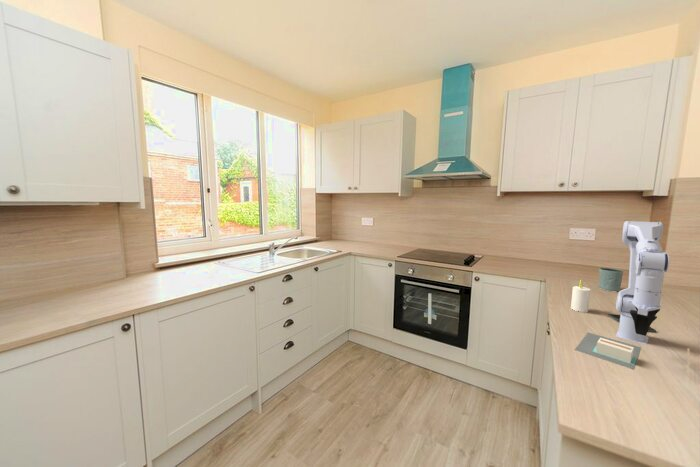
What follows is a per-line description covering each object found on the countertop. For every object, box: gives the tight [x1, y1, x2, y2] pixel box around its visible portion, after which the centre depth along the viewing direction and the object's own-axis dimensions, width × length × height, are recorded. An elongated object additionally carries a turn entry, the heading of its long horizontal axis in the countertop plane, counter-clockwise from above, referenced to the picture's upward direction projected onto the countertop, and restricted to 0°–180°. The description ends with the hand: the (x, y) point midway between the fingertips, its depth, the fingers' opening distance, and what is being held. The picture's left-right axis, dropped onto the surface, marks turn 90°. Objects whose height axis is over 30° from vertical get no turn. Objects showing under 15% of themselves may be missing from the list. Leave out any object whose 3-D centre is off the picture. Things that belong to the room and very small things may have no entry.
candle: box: [570, 278, 591, 313], centre depth 127 cm, size 6×6×15 cm
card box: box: [596, 338, 634, 363], centre depth 89 cm, size 8×5×4 cm, turn 38°
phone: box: [607, 313, 657, 333], centre depth 114 cm, size 8×1×15 cm
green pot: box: [598, 267, 624, 292], centre depth 158 cm, size 10×10×12 cm
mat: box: [574, 332, 642, 370], centre depth 93 cm, size 20×14×1 cm
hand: (642, 330), depth 87 cm, fingers open, 7 cm apart
